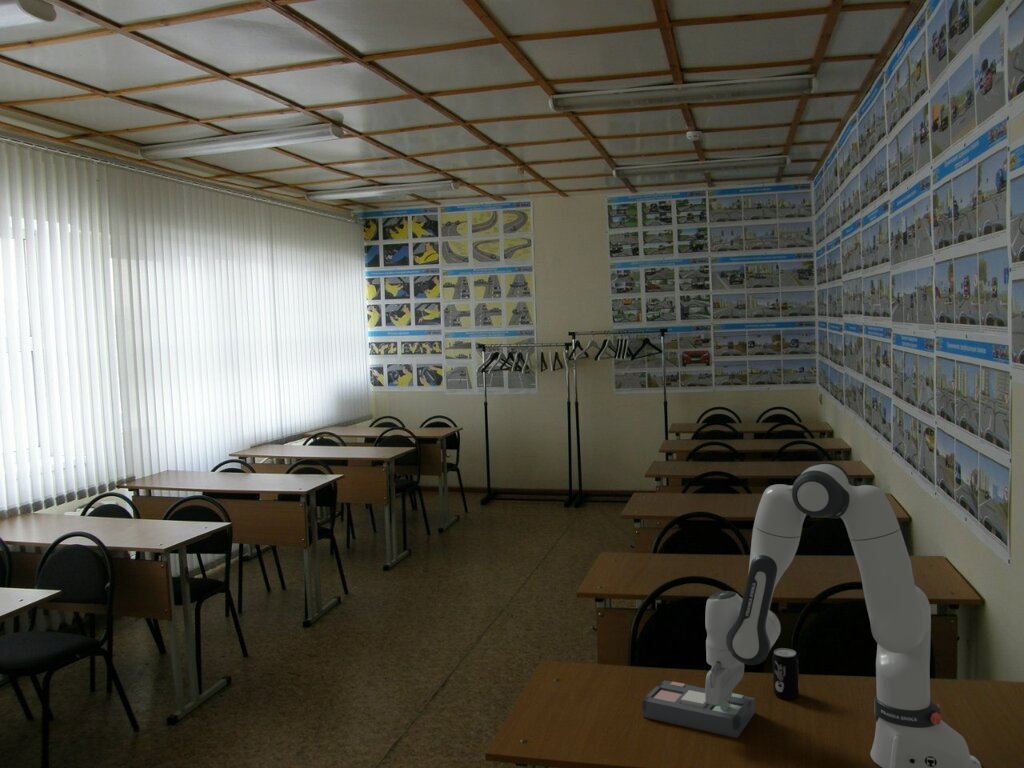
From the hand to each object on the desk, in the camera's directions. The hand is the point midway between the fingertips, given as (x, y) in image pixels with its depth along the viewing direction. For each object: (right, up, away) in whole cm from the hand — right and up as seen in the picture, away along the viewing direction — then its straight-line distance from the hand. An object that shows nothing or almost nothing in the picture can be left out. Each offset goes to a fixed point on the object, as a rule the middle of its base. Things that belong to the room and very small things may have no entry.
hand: (725, 708), depth 209 cm
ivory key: (-7, -1, +4) cm, 8 cm away
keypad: (-6, -4, +6) cm, 9 cm away
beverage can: (+20, -2, +15) cm, 25 cm away
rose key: (-13, -2, +9) cm, 16 cm away
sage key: (0, -2, 0) cm, 2 cm away
